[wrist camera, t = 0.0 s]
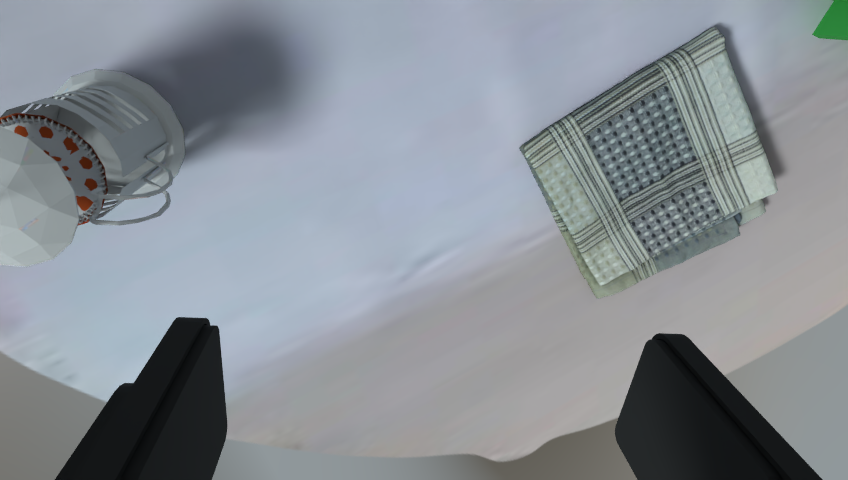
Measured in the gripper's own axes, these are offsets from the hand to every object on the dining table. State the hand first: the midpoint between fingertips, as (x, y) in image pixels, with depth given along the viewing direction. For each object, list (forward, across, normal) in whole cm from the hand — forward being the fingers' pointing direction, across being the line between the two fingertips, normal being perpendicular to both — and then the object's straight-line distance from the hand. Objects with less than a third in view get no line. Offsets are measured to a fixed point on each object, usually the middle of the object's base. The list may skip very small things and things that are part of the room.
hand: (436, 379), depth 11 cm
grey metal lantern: (+31, +20, +4) cm, 37 cm away
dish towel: (+32, -23, +4) cm, 40 cm away
